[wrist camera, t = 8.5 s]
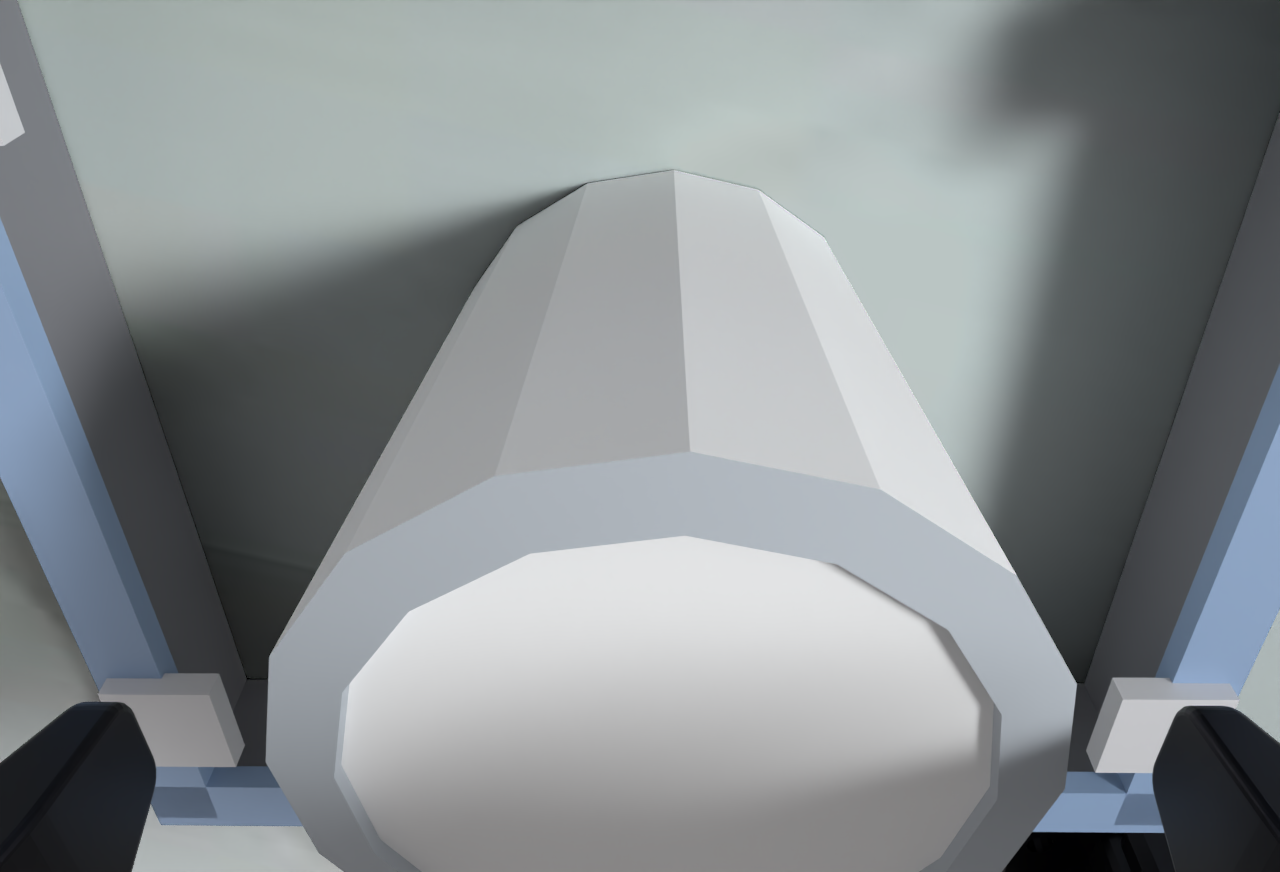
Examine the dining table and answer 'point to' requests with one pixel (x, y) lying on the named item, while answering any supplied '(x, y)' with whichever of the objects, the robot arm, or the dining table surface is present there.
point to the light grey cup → (666, 582)
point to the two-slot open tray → (237, 708)
